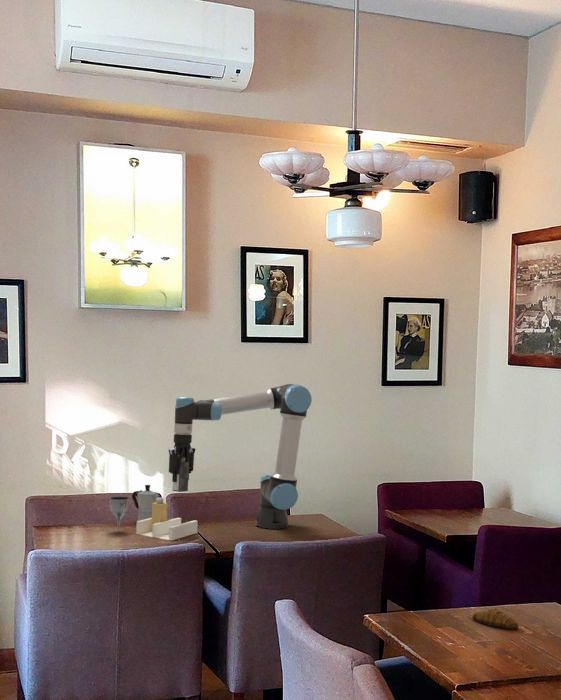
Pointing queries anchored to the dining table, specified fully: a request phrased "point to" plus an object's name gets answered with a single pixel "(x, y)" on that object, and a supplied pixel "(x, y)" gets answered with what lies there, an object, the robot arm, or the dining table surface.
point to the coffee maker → (144, 502)
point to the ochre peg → (159, 511)
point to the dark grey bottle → (183, 475)
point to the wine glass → (119, 507)
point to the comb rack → (166, 528)
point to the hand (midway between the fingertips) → (180, 489)
